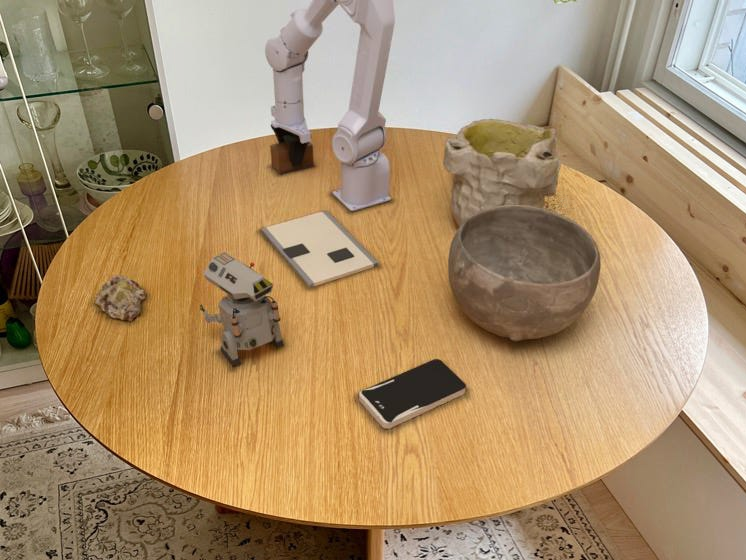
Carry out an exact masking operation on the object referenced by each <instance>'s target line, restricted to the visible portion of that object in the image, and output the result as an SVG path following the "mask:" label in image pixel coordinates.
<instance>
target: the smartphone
mask: <svg viewBox="0 0 746 560" xmlns="http://www.w3.org/2000/svg"><path fill="white" fill-rule="evenodd" d="M466 388H467V384H466V383H465V381H463V380H462V379H461V378H460V377H459V376H458V374H456V373H455V371H453V370H452V369H451V368H450V367H449V366H448V365H447V364H445V363H444V361H442V360H441V359H439V358H434V359H431V360H429V361H427V362H424V363H423V364H420V365H418V366H415V367H413V368H411V369H409V370H406V371H404V372H402V373H399V374H397V375H394V376H392V377H390V378H388V379H385V380H383V381H379V383H375V384H374V385H372V386H369V387H367V388H364V389H362V390H360V391H359V392H358V393H359V394H358V395H359V397H358V401H359V403H360V404H361V405H362V406H363V408H365V410H366V411H367V412H368V413H369V414H370V416H371V417H373V419H374V420H375V421H376V422H377V423H378V425H380V426H381V428H383V429H385V430H389V429H392V428H394V427H396V426H398V425H401V424H403V423H405V422H408V421H409V420H411V419H414V418H416V417H418V416H420V415H423V414H425V413H427V412H429V411H431V410H433V409H435V408H437V407H439V406H442V405H445V404H446V403H448V402H450V401H452V400H455V399H458V398H459V397H461V396H463V395H465V393H466Z"/></svg>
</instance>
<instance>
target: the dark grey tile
mask: <svg viewBox="0 0 746 560" xmlns="http://www.w3.org/2000/svg"><path fill="white" fill-rule="evenodd" d="M283 251H284V252H285V253H286V254H287V255H288V257H289V258H294V257H297V256H300V255H304V254H307V253H310V251H309V250H308V249H307V248H306V247H305V246H304V245H303V243H302V244H298V245H295V246H291V247H288V248H284V249H283Z"/></svg>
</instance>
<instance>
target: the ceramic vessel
mask: <svg viewBox="0 0 746 560" xmlns="http://www.w3.org/2000/svg"><path fill="white" fill-rule="evenodd" d="M557 143H558V137H557V136H556V129H555V128H554V127H552V128H546V129H545V127H541V126H538V125H534V124H529V123H526V124H524V125H523V124H520V123H516V122H512V121H509V120H503V119H497V118H487V119H486V118H484V119H479V120H474V121H473V120H472V122H471V123H469V124H467V125H464V126H463V127H461V128H460V130H459V131H458V132H457V134H456V137H448V138H447V139H445V141H444V152H443V153H444V154H443V159H442V164H443V168H444V170H445V171H446V172H447V173H450V174H451V175H453V179H452V187H451V190H450V192H451V194H450V195H451V198H450V210H451V214H452V218H453V219H454V221H455V223H456V224H457V226H458V228H459V227H460V226H461V224H462V223H463V221H464V220H465V219H466V218H467V217H469V216H471V215H472V214H474V213H477V212H479V211H482V210H486V209H489V208H493V207H497V206H503V205H526V206H533V207H539V208H543V209H545V202H546V201H545V197H554V196H556V194H557V190H556V189H557V187H558V185H559V173H560V169H561V167H562V161H561V158H560V156H559V153H558V151H557V148H556V147H557Z"/></svg>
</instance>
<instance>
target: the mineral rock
mask: <svg viewBox="0 0 746 560" xmlns="http://www.w3.org/2000/svg"><path fill="white" fill-rule="evenodd" d="M146 295H147V293H146V292H145V289H142V288H141V287H140V284H139V282H138V281H134V279H130V278H129V277H127V276H124V275H122V274H115V275H114V276H112V277H111V278H110V279H109V280H106V281H105V282H104V284H103V285H102V286H101V288H100V289H99V293H98V294H97V295H96V296H95V299H96V300H95V302H94V303H95V304H96V305H97V306H98V307H100V309H101V311H103V312H104V314H107V315H108V316H109V317H111V318H112V319H119V320H121V321H125V320H127V321H128V322H132V321H134V318H136V317H138V316H139V315H140V314H141V311H142V306H141V303H142V301H143V300H145V299H146Z"/></svg>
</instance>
